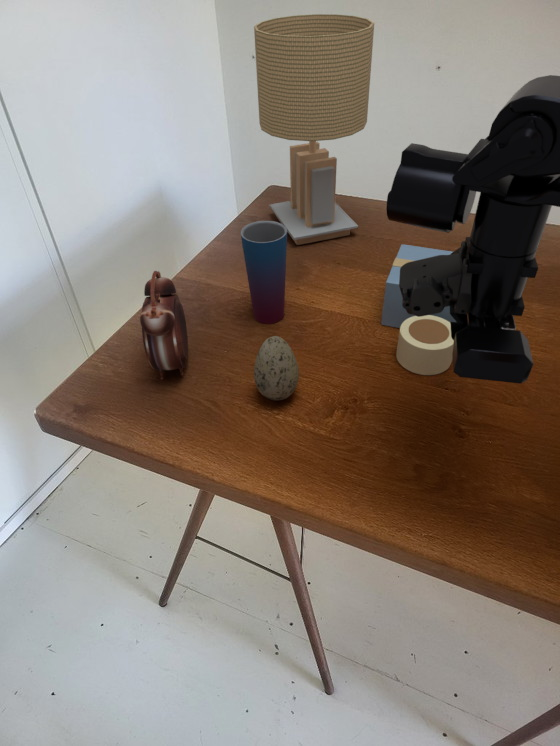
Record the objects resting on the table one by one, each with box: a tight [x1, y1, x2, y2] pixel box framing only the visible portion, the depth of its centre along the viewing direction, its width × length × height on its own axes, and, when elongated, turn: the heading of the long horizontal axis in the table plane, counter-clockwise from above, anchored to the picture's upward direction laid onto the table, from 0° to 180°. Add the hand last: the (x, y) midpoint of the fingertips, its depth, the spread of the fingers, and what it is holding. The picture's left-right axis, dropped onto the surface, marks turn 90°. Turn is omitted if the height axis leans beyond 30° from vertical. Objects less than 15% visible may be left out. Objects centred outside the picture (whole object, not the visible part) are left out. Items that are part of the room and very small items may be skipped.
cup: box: [240, 220, 288, 325], centre depth 81 cm, size 7×7×15 cm
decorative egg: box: [253, 335, 300, 401], centre depth 68 cm, size 6×6×10 cm
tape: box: [395, 315, 454, 376], centre depth 75 cm, size 8×8×5 cm
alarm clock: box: [139, 270, 189, 381], centre depth 72 cm, size 11×5×15 cm, turn 5°
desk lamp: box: [253, 13, 375, 246], centre depth 96 cm, size 20×20×35 cm
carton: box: [380, 243, 456, 329], centre depth 82 cm, size 12×12×8 cm
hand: (466, 371), depth 57 cm, fingers closed
